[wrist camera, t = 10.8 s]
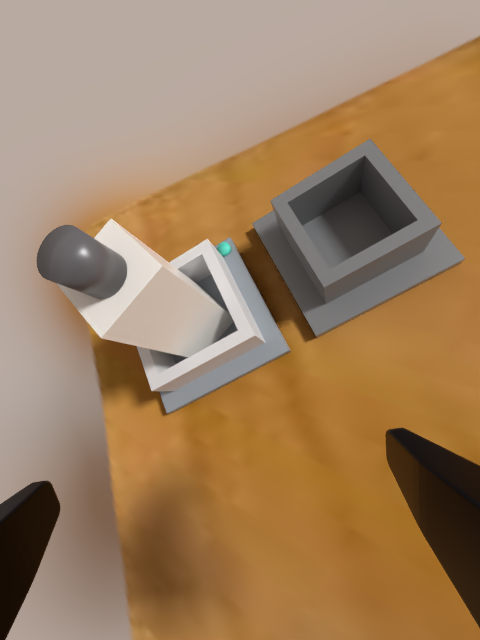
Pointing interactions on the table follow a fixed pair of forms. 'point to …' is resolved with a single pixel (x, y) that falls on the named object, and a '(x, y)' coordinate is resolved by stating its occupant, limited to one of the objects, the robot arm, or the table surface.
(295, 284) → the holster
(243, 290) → the port panel
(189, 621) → the table surface
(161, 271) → the plug
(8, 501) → the robot arm
